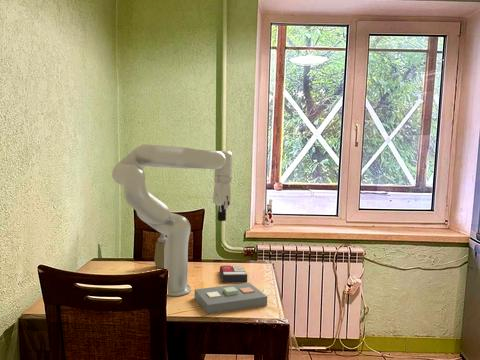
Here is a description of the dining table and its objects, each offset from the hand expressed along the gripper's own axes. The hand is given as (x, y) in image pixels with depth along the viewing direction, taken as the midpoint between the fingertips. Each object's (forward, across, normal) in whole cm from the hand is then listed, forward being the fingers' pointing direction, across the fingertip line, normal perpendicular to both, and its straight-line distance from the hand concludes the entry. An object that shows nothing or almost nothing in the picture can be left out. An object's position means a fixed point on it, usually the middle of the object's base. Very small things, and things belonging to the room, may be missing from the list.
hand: (221, 220), depth 181 cm
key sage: (+25, +24, -5) cm, 35 cm away
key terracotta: (+26, +24, +2) cm, 35 cm away
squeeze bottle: (+27, -26, -20) cm, 43 cm away
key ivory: (+26, +24, -12) cm, 37 cm away
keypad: (+27, +24, -5) cm, 37 cm away
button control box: (+28, -2, +7) cm, 29 cm away
